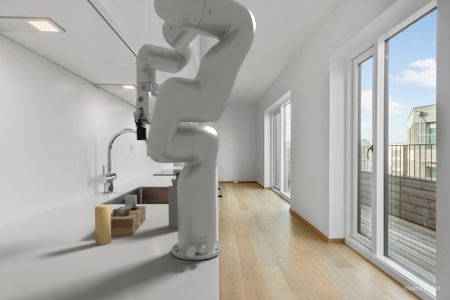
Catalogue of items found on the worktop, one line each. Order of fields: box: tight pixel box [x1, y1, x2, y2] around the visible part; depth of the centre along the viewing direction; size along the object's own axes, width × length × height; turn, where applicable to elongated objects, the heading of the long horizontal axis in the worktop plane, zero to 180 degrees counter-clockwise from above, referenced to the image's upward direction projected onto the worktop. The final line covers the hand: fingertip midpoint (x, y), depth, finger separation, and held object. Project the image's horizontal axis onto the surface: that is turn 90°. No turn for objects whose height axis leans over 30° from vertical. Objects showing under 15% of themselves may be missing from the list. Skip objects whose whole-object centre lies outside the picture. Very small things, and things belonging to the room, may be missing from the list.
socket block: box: [111, 205, 147, 237], centre depth 93 cm, size 20×9×7 cm, turn 5°
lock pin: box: [120, 194, 138, 214], centre depth 95 cm, size 12×4×4 cm, turn 5°
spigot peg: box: [94, 204, 112, 246], centre depth 77 cm, size 4×4×10 cm
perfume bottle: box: [167, 171, 181, 229], centre depth 94 cm, size 7×7×18 cm
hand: (149, 140), depth 95 cm, fingers open, 9 cm apart
